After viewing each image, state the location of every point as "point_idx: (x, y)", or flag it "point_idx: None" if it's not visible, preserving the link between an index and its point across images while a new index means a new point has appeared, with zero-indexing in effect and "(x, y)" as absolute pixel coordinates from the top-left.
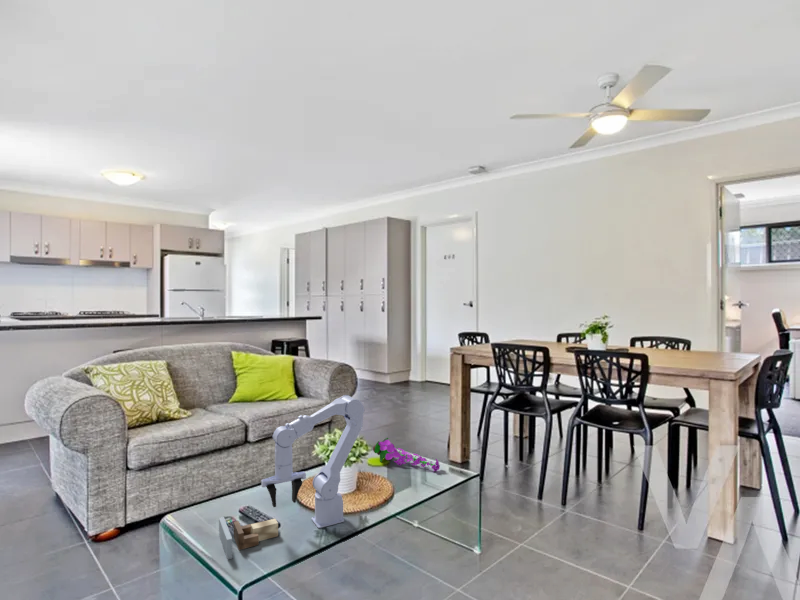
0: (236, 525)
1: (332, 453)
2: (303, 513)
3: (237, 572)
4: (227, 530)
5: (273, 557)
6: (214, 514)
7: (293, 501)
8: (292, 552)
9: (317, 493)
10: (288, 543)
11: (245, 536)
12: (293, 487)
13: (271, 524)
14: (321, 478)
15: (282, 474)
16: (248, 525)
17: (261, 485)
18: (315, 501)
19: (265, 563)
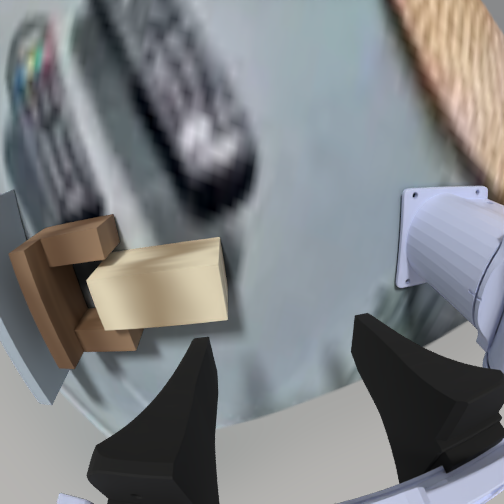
0: (28, 295)
1: None
2: (387, 108)
3: (107, 414)
4: (13, 349)
5: None
6: (3, 3)
7: (354, 348)
8: (260, 394)
9: (502, 287)
10: (258, 348)
11: (85, 336)
12: (402, 417)
13: (192, 322)
14: None
15: None
16: (80, 242)
17: (63, 499)
18: (464, 285)
19: None
